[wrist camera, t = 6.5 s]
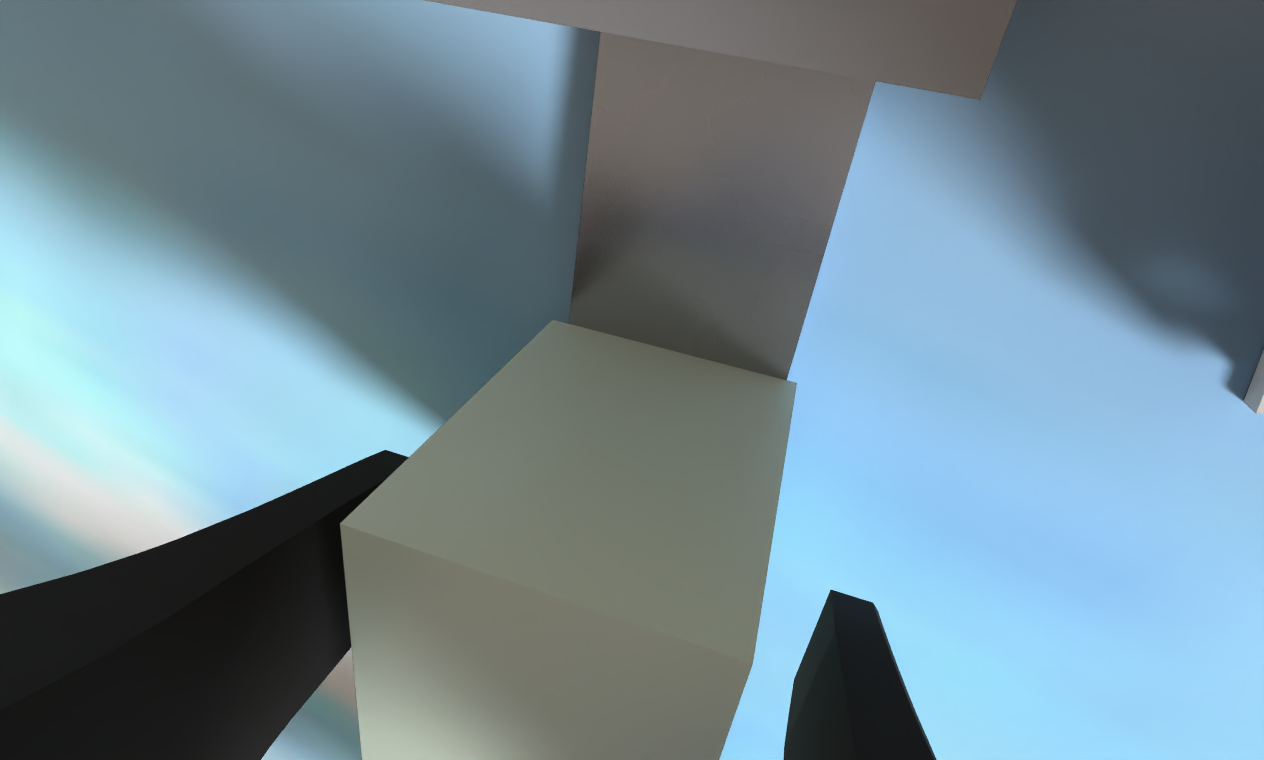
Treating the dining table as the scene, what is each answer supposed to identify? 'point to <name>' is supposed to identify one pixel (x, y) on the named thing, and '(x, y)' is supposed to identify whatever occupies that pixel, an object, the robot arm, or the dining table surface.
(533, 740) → the block
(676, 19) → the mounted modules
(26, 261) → the dining table surface
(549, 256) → the dining table surface
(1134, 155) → the dining table surface
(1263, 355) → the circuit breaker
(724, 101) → the steel rail
